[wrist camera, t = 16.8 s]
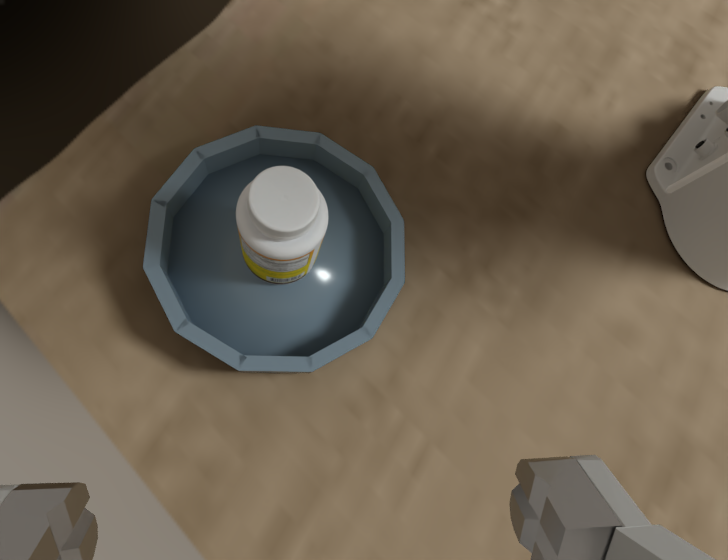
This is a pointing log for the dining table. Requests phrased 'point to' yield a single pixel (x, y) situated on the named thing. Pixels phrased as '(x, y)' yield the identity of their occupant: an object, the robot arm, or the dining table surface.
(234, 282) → the slate dish
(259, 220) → the supplement bottle
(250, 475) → the dining table surface
